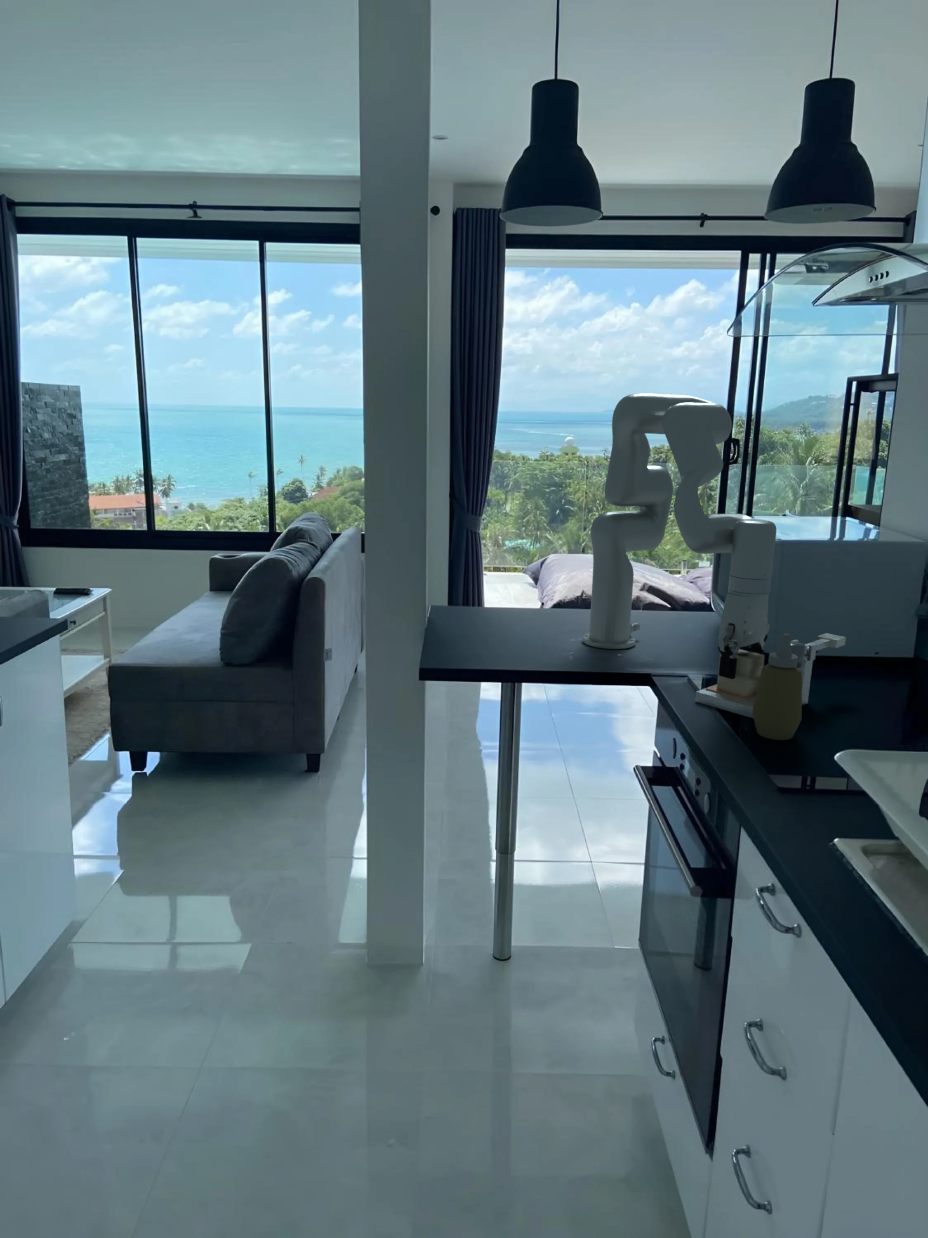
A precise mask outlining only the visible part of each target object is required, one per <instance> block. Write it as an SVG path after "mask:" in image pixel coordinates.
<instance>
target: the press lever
mask: <svg viewBox="0 0 928 1238" xmlns="http://www.w3.org/2000/svg"><path fill="white" fill-rule="evenodd" d="M846 639H847V637H846V636H842V635H837V634H831V633H827V632H826V633H823V634H819V635H817V637H816V640H814V641H811V642H808V643H805V644H804V643H802V642H794V641H793V640H790V643H791V652H792V654H794V655H796V656H798V662H797V666H796V667H797V668H800V667H803V660H804V656H805V657H807V656H808V648H809V645H811V644H817V647H816V652H818V651H819V650H820V651H821V650H823V649H825V648H829V647H830V648H834V649H838V648H841V647H843V646H845V645H846Z"/></svg>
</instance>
